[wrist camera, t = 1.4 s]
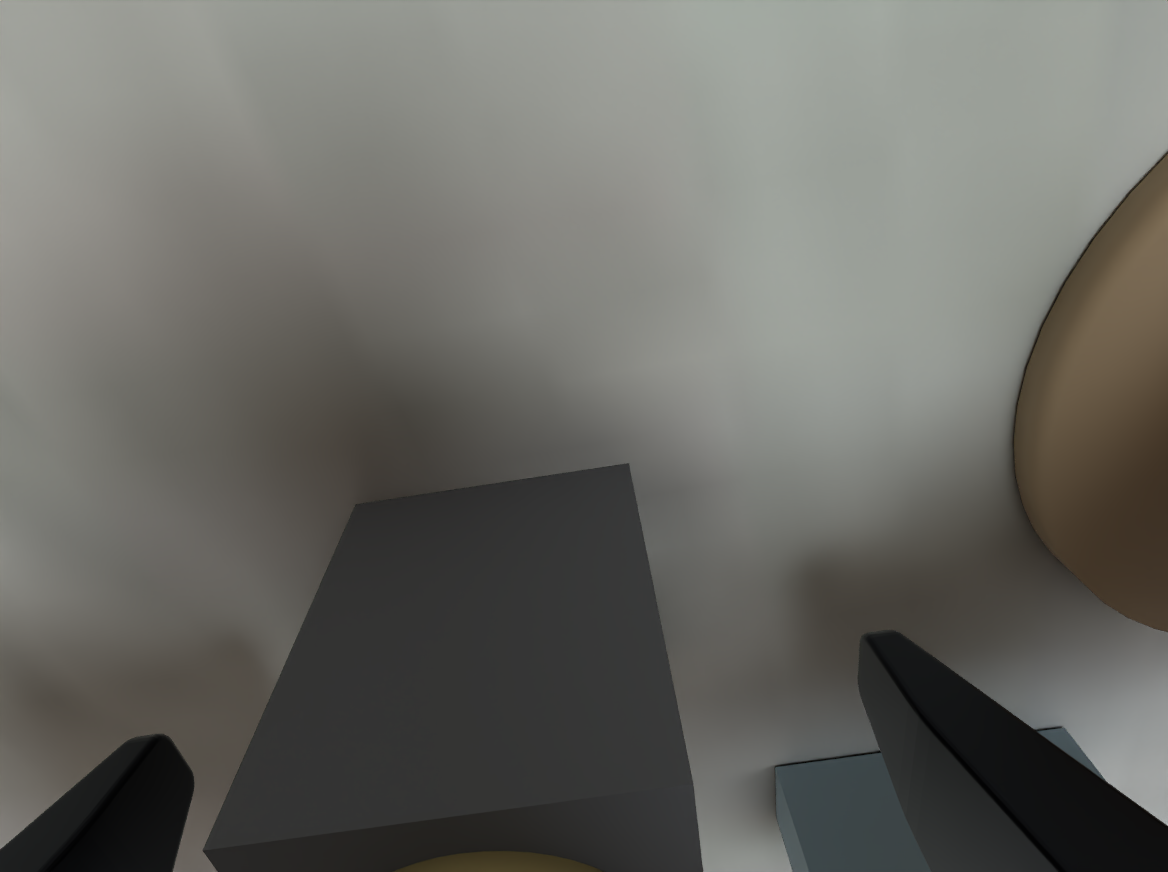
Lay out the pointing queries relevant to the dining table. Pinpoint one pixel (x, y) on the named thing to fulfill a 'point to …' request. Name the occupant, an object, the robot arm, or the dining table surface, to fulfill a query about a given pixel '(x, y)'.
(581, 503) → the dark gray rectangular block
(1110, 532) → the bobbin
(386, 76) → the dining table surface
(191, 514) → the dining table surface
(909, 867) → the grey blocks
